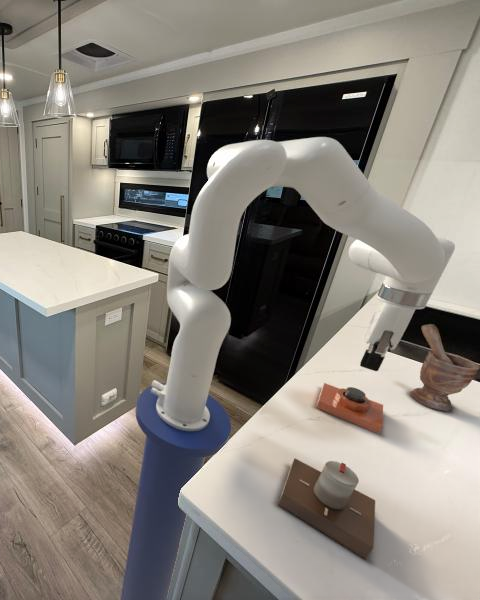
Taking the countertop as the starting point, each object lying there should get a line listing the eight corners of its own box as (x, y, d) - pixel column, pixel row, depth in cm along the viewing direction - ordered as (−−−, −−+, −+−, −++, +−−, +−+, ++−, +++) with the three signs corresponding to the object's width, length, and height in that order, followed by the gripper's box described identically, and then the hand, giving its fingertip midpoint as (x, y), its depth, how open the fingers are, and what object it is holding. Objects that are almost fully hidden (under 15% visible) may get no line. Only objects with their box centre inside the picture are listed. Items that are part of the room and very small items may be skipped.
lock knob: (343, 515, 50) (358, 489, 48) (311, 496, 53) (323, 471, 51) (346, 496, 53) (360, 471, 51) (315, 479, 56) (328, 455, 54)
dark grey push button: (343, 398, 76) (346, 391, 75) (344, 391, 79) (347, 385, 78) (362, 405, 74) (365, 398, 73) (362, 398, 76) (366, 391, 76)
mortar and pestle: (391, 396, 83) (426, 331, 75) (390, 381, 89) (422, 319, 81) (455, 417, 76) (501, 348, 68) (448, 400, 82) (490, 334, 74)
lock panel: (277, 504, 55) (282, 492, 54) (289, 468, 62) (294, 457, 60) (365, 559, 47) (374, 547, 46) (368, 511, 54) (375, 499, 53)
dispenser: (315, 407, 78) (321, 395, 76) (321, 389, 85) (326, 377, 83) (378, 434, 71) (386, 420, 69) (379, 411, 77) (386, 399, 76)
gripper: (379, 282, 73) (350, 349, 80) (378, 300, 63) (345, 374, 70) (425, 291, 68) (389, 361, 75) (431, 311, 58) (390, 389, 65)
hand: (368, 367), depth 73 cm, fingers closed
